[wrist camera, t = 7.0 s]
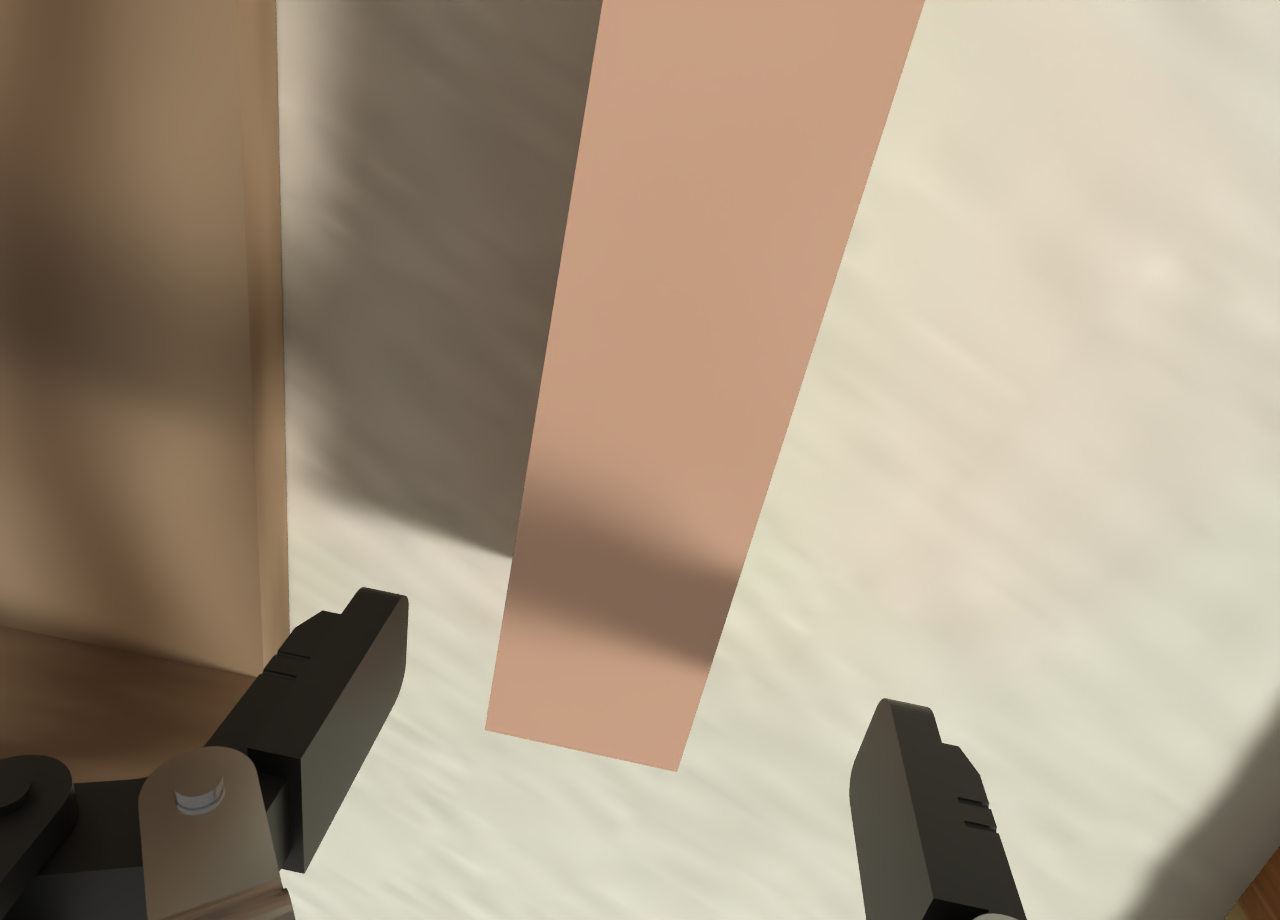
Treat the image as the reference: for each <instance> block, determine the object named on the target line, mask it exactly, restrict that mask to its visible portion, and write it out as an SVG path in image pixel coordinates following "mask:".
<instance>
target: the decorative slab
mask: <svg viewBox="0 0 1280 920" xmlns="http://www.w3.org/2000/svg"><path fill="white" fill-rule="evenodd" d="M1224 920H1280V846H1279V848H1278V849H1277V850H1276V852H1275V853H1274V854H1273V856H1272V857H1271V858H1270V859H1269V861H1268V862H1267V863H1266V865H1265V866H1264V868H1263V869H1262V870H1261V871H1260V873H1259V874H1258V875H1257V876H1256V878H1255V879H1254V881H1253V882H1252V883H1251V884H1250V886H1249V887H1248V888H1247V890H1246V891H1245V892H1244V894H1243V895H1242V896H1241V898H1240V899H1239V900H1238V902H1237V903H1236V904H1235V906H1234V907H1233V908H1232V909H1231V911H1230V912H1229V913H1228V915H1227V916H1226V917H1225V919H1224Z"/></svg>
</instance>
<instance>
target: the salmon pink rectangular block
mask: <svg viewBox="0 0 1280 920" xmlns="http://www.w3.org/2000/svg"><path fill="white" fill-rule="evenodd" d="M924 2H925V0H603V2H602V8H601V14H600V21H599V27H598V33H597V39H596V45H595V52H594V58H593V64H592V70H591V76H590V82H589V89H588V95H587V101H586V107H585V113H584V120H583V126H582V132H581V138H580V144H579V151H578V157H577V163H576V169H575V175H574V181H573V188H572V194H571V200H570V206H569V212H568V219H567V225H566V231H565V237H564V243H563V250H562V256H561V262H560V268H559V274H558V281H557V287H556V293H555V299H554V305H553V311H552V318H551V324H550V330H549V336H548V342H547V349H546V355H545V361H544V367H543V373H542V380H541V386H540V392H539V398H538V404H537V411H536V417H535V423H534V429H533V435H532V441H531V448H530V454H529V460H528V466H527V472H526V479H525V485H524V491H523V497H522V503H521V510H520V516H519V522H518V528H517V534H516V540H515V547H514V553H513V559H512V565H511V571H510V578H509V584H508V590H507V596H506V602H505V609H504V615H503V621H502V627H501V633H500V640H499V646H498V652H497V658H496V664H495V670H494V677H493V683H492V689H491V695H490V701H489V708H488V714H487V720H486V726H485V730H488V731H492V732H497V733H501V734H506V735H510V736H515V737H519V738H524V739H529V740H533V741H538V742H542V743H547V744H551V745H556V746H561V747H565V748H570V749H574V750H579V751H583V752H588V753H592V754H597V755H602V756H606V757H611V758H615V759H620V760H624V761H629V762H634V763H638V764H643V765H647V766H652V767H656V768H661V769H665V770H670V771H675V772H677V770H678V767H679V764H680V761H681V758H682V755H683V751H684V748H685V745H686V742H687V739H688V736H689V733H690V730H691V727H692V723H693V720H694V717H695V714H696V711H697V708H698V705H699V702H700V699H701V695H702V692H703V689H704V686H705V683H706V680H707V677H708V674H709V671H710V667H711V664H712V661H713V658H714V655H715V652H716V649H717V646H718V643H719V639H720V636H721V633H722V630H723V627H724V624H725V621H726V618H727V615H728V611H729V608H730V605H731V602H732V599H733V596H734V593H735V590H736V587H737V583H738V580H739V577H740V574H741V571H742V568H743V565H744V562H745V559H746V555H747V552H748V549H749V546H750V543H751V540H752V537H753V534H754V531H755V527H756V524H757V521H758V518H759V515H760V512H761V509H762V506H763V503H764V499H765V496H766V493H767V490H768V487H769V484H770V481H771V478H772V475H773V471H774V468H775V465H776V462H777V459H778V456H779V453H780V450H781V447H782V443H783V440H784V437H785V434H786V431H787V428H788V425H789V422H790V419H791V415H792V412H793V409H794V406H795V403H796V400H797V397H798V394H799V391H800V387H801V384H802V381H803V378H804V375H805V372H806V369H807V366H808V363H809V359H810V356H811V353H812V350H813V347H814V344H815V341H816V338H817V335H818V331H819V328H820V325H821V322H822V319H823V316H824V313H825V310H826V307H827V303H828V300H829V297H830V294H831V291H832V288H833V285H834V282H835V279H836V275H837V272H838V269H839V266H840V263H841V260H842V257H843V254H844V251H845V247H846V244H847V241H848V238H849V235H850V232H851V229H852V226H853V223H854V219H855V216H856V213H857V210H858V207H859V204H860V201H861V198H862V195H863V191H864V188H865V185H866V182H867V179H868V176H869V173H870V170H871V167H872V163H873V160H874V157H875V154H876V151H877V148H878V145H879V142H880V139H881V135H882V132H883V129H884V126H885V123H886V120H887V117H888V114H889V111H890V107H891V104H892V101H893V98H894V95H895V92H896V89H897V86H898V83H899V79H900V76H901V73H902V70H903V67H904V64H905V61H906V58H907V55H908V51H909V48H910V45H911V42H912V39H913V36H914V33H915V30H916V27H917V23H918V20H919V17H920V14H921V11H922V8H923V5H924Z"/></svg>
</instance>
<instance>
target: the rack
mask: <svg viewBox="0 0 1280 920" xmlns="http://www.w3.org/2000/svg"><path fill="white" fill-rule="evenodd" d="M289 635H290V631H289V584H288V537H287V491H286V444H285V398H284V351H283V305H282V258H281V211H280V165H279V118H278V72H277V25H276V0H0V760H1V759H5V758H9V757H13V756H20V755H44V756H48V757H53V758H55V759H57V760H59V761H61V762H62V763H63V764H65V765H66V766H67V768H68V769H69V770H70V773H71V776H72V780H73V783H85V782H100V781H115V780H130V779H138V778H144V777H148V776H150V774H151V773H152V772H153V771H154V770H155V769H156V768H158V767H159V766H160V765H162V764H163V763H164V762H166V761H167V760H169V759H171V758H172V757H174V756H176V755H179V754H181V753H183V752H186V751H189V750H192V749H196V748H201V747H203V746H204V745H205V744H206V743H207V742H208V740H209V739H210V738H211V736H212V735H213V734H214V733H215V731H216V730H217V729H218V727H219V726H220V725H221V723H222V722H223V721H224V720H225V718H226V717H227V716H228V714H229V713H230V712H231V710H232V709H233V708H234V707H235V705H236V704H237V703H238V701H239V700H240V699H241V697H242V696H243V695H244V694H245V692H246V691H247V690H248V688H249V687H250V686H251V684H252V683H253V682H254V681H255V679H256V678H257V677H258V675H259V674H262V673H263V669H264V668H265V666H266V665H267V664H268V662H269V661H270V660H271V658H272V657H273V656H274V655H277V652H278V649H279V648H280V647H281V646H282V644H283V643H284V642H285V640H286V639H287V638H288V636H289Z"/></svg>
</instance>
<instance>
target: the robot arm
mask: <svg viewBox="0 0 1280 920" xmlns="http://www.w3.org/2000/svg"><path fill="white" fill-rule="evenodd" d="M408 607H409V604H408V598H407V596H404V595H399V594H395V593H390V592H385V591H380V590H376V589H371V588H366V587H362V588H360V589H359V590H358V591H357V593H356V594H355V596H354V597H353V598H352V600H351V601H350V603H349V604H348V605H347V607H346V608H345V610H344V611H343V612H342V614H337V613H332V612H327V611H321V612H320V613H318V614H316V615H315V616H313V617H312V618H310V619H308V620H307V621H305V622H304V623H302V624H300V625H299V626H297V627H296V628H295V629H294V630H293V631H292V633H291V634H290V635H289V636H288V638H287V639H286V640H285V642H284V643H283V644H282V646H281V647H280V648H279V649H278V652H277V655H274V656H273V657H272V658H271V660H270V661H269V662H268V664H267V665H266V666H265V668H264V669H263V673H262V674H259V675H258V677H257V678H256V679H255V681H254V682H253V683H252V684H251V686H250V687H249V688H248V690H247V691H246V692H245V694H244V695H243V696H242V697H241V699H240V700H239V701H238V703H237V704H236V705H235V707H234V708H233V709H232V710H231V712H230V713H229V714H228V716H227V717H226V718H225V720H224V721H223V722H222V723H221V725H220V726H219V727H218V729H217V730H216V731H215V733H214V734H213V735H212V736H211V738H210V739H209V740H208V742H207V743H206V744H205V745H204V746H203V747H201V748H196V749H192V750H189V751H186V752H183V753H181V754H179V755H176V756H174V757H172V758H171V759H169V760H167V761H166V762H164V763H163V764H162V765H160V766H159V767H158V768H156V769H155V770H154V771H153V772H152V773H151V774H150V776H148V777H144V778H138V779H130V780H115V781H100V782H85V783H73V780H72V776H71V773H70V770H69V769H68V768H67V766H66V765H65V764H63V763H62V762H61V761H59V760H57V759H55V758H53V757H48V756H44V755H20V756H13V757H9V758H5V759H1V760H0V920H295V916H294V911H293V907H292V903H291V899H290V896H289V893H288V890H287V889H286V888H285V889H283V886H282V882H281V878H280V874H279V871H280V870H281V869H285V870H290V871H294V872H299V873H303V874H304V873H305V872H306V870H307V868H308V866H309V864H310V862H311V860H312V858H313V856H314V855H315V853H316V851H317V849H318V847H319V845H320V843H321V841H322V839H323V838H324V836H325V834H326V832H327V830H328V828H329V826H330V824H331V822H332V821H333V819H334V817H335V815H336V813H337V811H338V809H339V807H340V806H341V804H342V802H343V800H344V798H345V796H346V794H347V792H348V790H349V789H350V787H351V785H352V783H353V781H354V779H355V777H356V775H357V773H358V772H359V770H360V768H361V766H362V764H363V762H364V760H365V758H366V756H367V755H368V753H369V751H370V749H371V747H372V745H373V743H374V741H375V739H376V738H377V736H378V734H379V732H380V730H381V728H382V726H383V724H384V722H385V721H386V719H387V717H388V715H389V713H390V711H391V709H392V707H393V706H394V704H395V702H396V699H397V697H398V694H399V692H400V689H401V685H402V682H403V678H404V673H405V666H406V648H407V628H408ZM849 797H850V807H851V814H852V821H853V828H854V835H855V842H856V849H857V856H858V864H859V871H860V878H861V885H862V892H863V899H864V906H865V913H866V920H1027V919H1026V916H1025V913H1024V910H1023V907H1022V904H1021V900H1020V897H1019V894H1018V891H1017V888H1016V885H1015V882H1014V879H1013V876H1012V873H1011V870H1010V867H1009V864H1008V860H1007V857H1006V854H1005V851H1004V848H1003V845H1002V842H1001V839H1000V836H999V834H998V833H996V828H997V827H996V823H995V820H994V817H993V814H992V811H991V809H989V808H988V806H989V802H988V799H987V796H986V793H985V790H984V786H983V783H982V780H981V777H980V774H979V773H978V772H977V770H976V769H975V768H974V766H973V765H972V764H971V762H970V761H969V760H968V758H967V757H966V756H965V754H964V753H963V752H962V750H961V749H960V748H959V747H958V746H954V745H949V744H944V743H942V742H941V738H940V735H939V731H938V728H937V724H936V721H935V717H934V714H933V712H932V710H931V709H930V708H928V707H924V706H919V705H915V704H910V703H905V702H900V701H896V700H891V699H886V698H883V699H882V700H881V701H880V702H879V704H878V706H877V708H876V710H875V713H874V715H873V718H872V720H871V722H870V725H869V727H868V730H867V732H866V734H865V737H864V739H863V742H862V744H861V747H860V749H859V751H858V754H857V756H856V759H855V761H854V764H853V768H852V772H851V778H850V789H849Z"/></svg>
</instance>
